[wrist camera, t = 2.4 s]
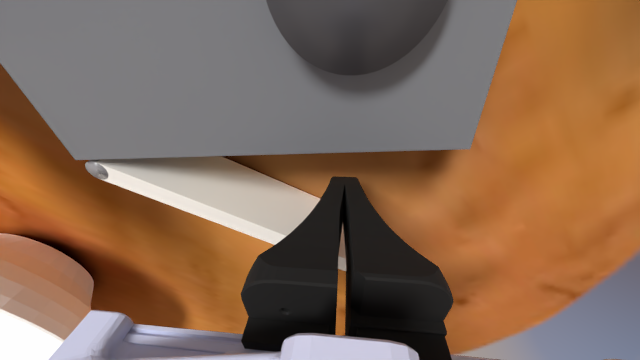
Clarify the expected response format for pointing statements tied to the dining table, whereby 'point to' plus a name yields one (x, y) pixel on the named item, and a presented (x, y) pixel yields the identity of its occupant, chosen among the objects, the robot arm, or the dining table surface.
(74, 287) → the bowl
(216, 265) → the dining table surface
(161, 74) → the camera housing
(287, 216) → the door
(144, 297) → the dining table surface
